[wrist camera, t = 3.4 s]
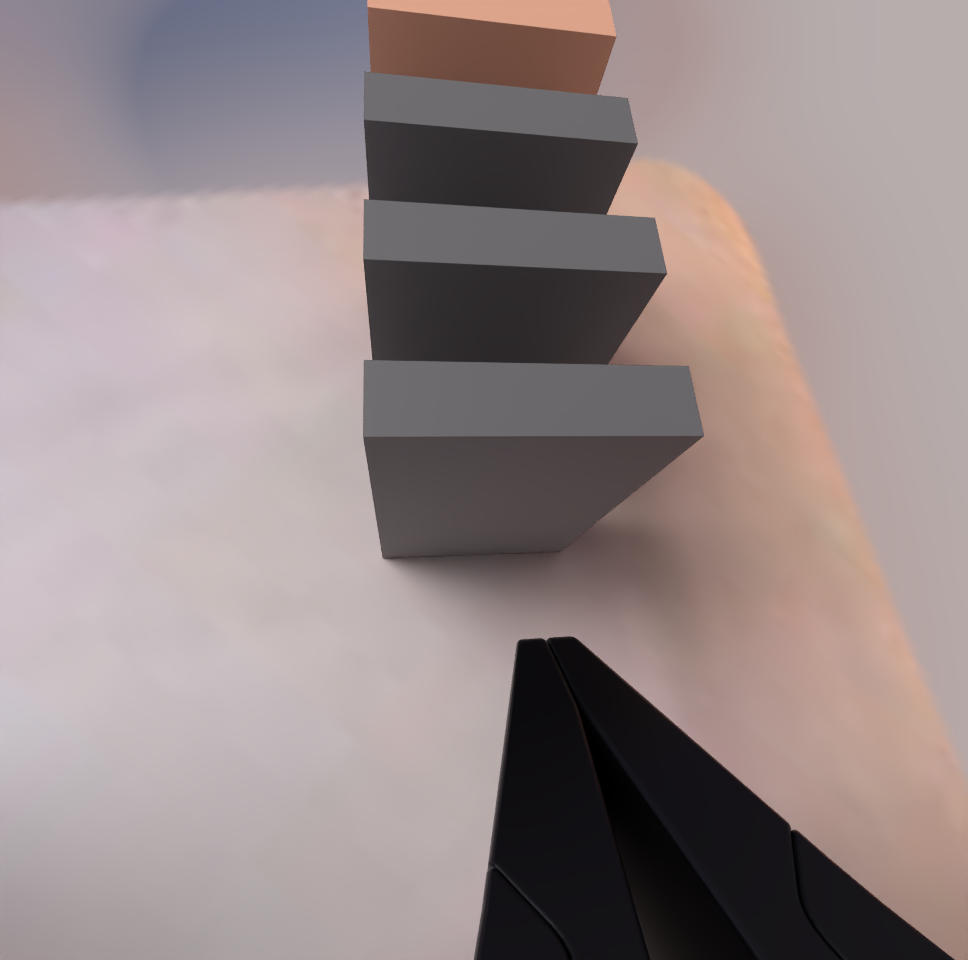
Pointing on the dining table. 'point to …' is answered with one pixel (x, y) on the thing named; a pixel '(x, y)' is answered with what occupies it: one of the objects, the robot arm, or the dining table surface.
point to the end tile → (494, 41)
